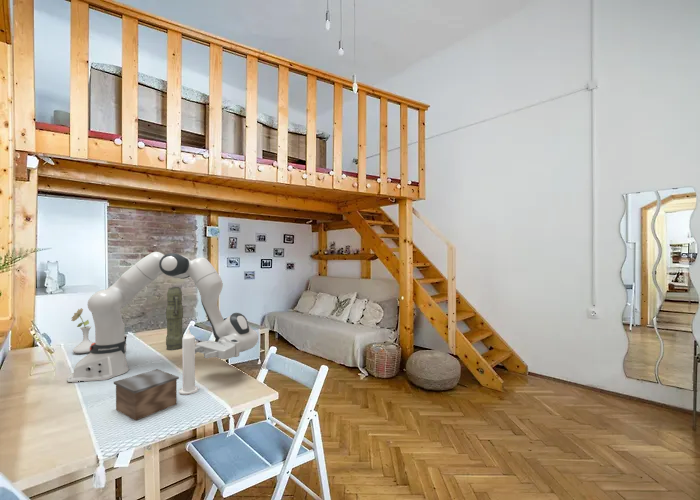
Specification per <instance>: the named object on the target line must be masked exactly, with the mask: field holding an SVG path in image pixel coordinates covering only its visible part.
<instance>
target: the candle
mask: <svg viewBox="0 0 700 500" xmlns="http://www.w3.org/2000/svg"><path fill="white" fill-rule="evenodd" d="M195 344H196V336H195V335H193V334H192V333H191V330H190V328H187V332H186V334H185V335H183V338H182V348H181V349H182V354H181V355H182V387H181V388H180V389H179V390H178V393H179V394H180V395H183V396H188V395H192V394H195V393H197V392H198V391H199V387H198V386H197V385H196V354H195Z"/></svg>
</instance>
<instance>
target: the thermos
mask: <svg viewBox="0 0 700 500" xmlns="http://www.w3.org/2000/svg"><path fill="white" fill-rule="evenodd" d="M166 299H167V304H166V305H167V306H166V309H165V317H166V318H165V319H166V337H165V345H166V350H167V351H177V350H181V349H182V338H183V337H184V335H183V318H184V306H183V303H182V301H183V292H182V288H181V287H179V286H172V287H170V288H168V290H167V293H166Z"/></svg>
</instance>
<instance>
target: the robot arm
mask: <svg viewBox="0 0 700 500" xmlns="http://www.w3.org/2000/svg"><path fill="white" fill-rule="evenodd" d="M163 274H164V275H166V276H169V277H171V278H175V279H188V278H191V279H192V280H193V282H194V284H195V285H196V287H197V290H198V292H199V294H200V300H201V305H202V308H203V311H204V312H205V314H206V316H207V319H208V322H209V323H210V325H211V328H212V333H213V338H214V339H215V340H216V341H215V340H205V341H200V342H195V355H196V354H197V353H200V354H203V358H206V359H209V358H218V359H221V360H227V359H232V358H239V357H240V353H242V352H247V351H248V350H251V349H252V348H254V347H255V346H256V345H257V344H258V343H259V342H258V341H259V335H258V333H257V331H256V330H254V329H253V328H252V326H250V324H249V323H248V319H247V318H246V316H245V315H244V314H243V313H240V312H234V313H232V314H231V315H229V316H228V317H227V318H225V319H224V317H223V316H222V313H221V311H220V308H219V306H218V303H219V302H218V301H219V298H220V295H221V293H222V290H223V286H224V285H223V284H224V283H223V279H222V278H221V276H220V275H219V273H218V271H217V270H216V268H215V267H214V266H213V264H212V263H211V262H210V261H209V260H208V259H207V258H206V257H196V258H193V259H190V258H189V257H188V256H186V255H184V254H183V255H182V254H179V253H175V252H169V253H166V254H163V253H162V252H159V251H153V252H151V253H149V254H147V255H146V256H144V257H142V258H141V259H140V260H138V261H137V262H135V263H134V264H133V265H132V266H131V267H130V268H128V269H127V270H126V271H125V272H123V273H122V274H121V275H120V276H119V277H118V279H117V280H116V281H114V283H112V284H111V286H109V287H107V288H105V289H101V290H98V291H96V292H95V293H93V294H92V295H91V296H90V297H89V298H88V301H87V308H88V310H89V311H90V312H91V316H92V319H93V323H94V330H95V335H94V336H95V342H93V343H92V344H91V346H90V352H88V353H87V354H86V355H85V356H84V357H83V358H81V359H80V360H79V361H78V362H76V364H75V365H74V369H73V372H72V373H71V374H70V375H68V376H67V378H66V382H67V381H68V382H72V383H81V382H80V381H84V382H94V381H104V380H105V381H106V380H109V379H111V378H114V377H117V376H121V375H123V374H125V373H127V372H129V370H130V368H129V366H128V362H127V357H126V352H127V339H126V340H125V335H126V334H125V330H126V328H125V325H126V324H125V322H124V321H123V317H122V313H121V312H122V311H121V309H123V308H124V307H126V305H128V304H129V303H130V302H131V301H132V300H133V299H135V298H136V297H137V296H138V294H139V293H140V292H142V291H143V290H144V289H145V288H146V287H147V286H149V285H150V284H151V283H153V282H154V281H155V280H156V279H157V278H158V277H160V276H161V275H163ZM78 381H79V382H78ZM68 382H67V383H68Z"/></svg>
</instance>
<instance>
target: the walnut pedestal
mask: <svg viewBox="0 0 700 500" xmlns="http://www.w3.org/2000/svg"><path fill="white" fill-rule="evenodd" d="M179 379H180V378H179V376H177V375H174V374H173V373H169V372H167V371H164V370H161V369H158V368H156V369H153V370H148V371H146V372H142V373H138V374H135V375H132V376H128V377H125V378H121V379H119V380H115V381H113V385H115V410H116V411H118V412H119V413H121V414H123V415H125V416H127V417H128V418H130V419H132V420H134V421H138V420H140V419H143V418H145V417H147V416H150V415H153V414H156V413H158V412H160V411H163V410H166V409H168V408H170V407H171V408H172V406H176V405H177V404H178V403H177V400H178V399H177V398H178V396H177V393H178V392H177V391H178V390H177V385H178V384H177V382H178V381H177V380H179Z"/></svg>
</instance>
